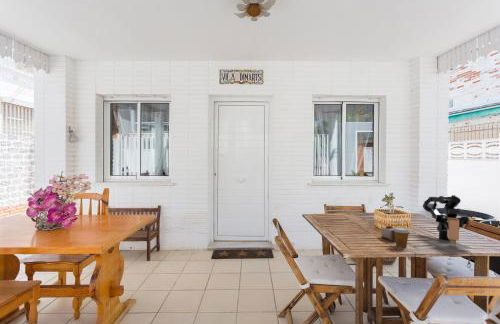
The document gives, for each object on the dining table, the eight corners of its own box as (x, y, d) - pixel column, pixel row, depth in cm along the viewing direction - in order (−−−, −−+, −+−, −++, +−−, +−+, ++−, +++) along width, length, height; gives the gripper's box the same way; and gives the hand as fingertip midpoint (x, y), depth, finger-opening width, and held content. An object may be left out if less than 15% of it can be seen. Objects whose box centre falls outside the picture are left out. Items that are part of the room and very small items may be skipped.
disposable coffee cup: (412, 247, 198) (412, 229, 198) (401, 248, 195) (401, 230, 195) (401, 243, 207) (401, 226, 207) (390, 244, 204) (390, 227, 204)
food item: (379, 236, 225) (379, 224, 225) (388, 236, 227) (388, 223, 227) (391, 241, 212) (391, 228, 212) (400, 241, 213) (400, 227, 213)
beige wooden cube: (449, 245, 202) (449, 238, 202) (455, 245, 201) (455, 239, 201) (450, 246, 200) (450, 240, 200) (456, 247, 198) (456, 240, 198)
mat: (440, 249, 192) (440, 249, 192) (423, 242, 209) (423, 241, 209) (472, 249, 194) (472, 248, 194) (452, 242, 211) (452, 241, 211)
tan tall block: (447, 236, 204) (447, 217, 203) (456, 237, 202) (457, 217, 201) (448, 239, 199) (449, 219, 198) (458, 240, 197) (459, 219, 196)
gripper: (436, 203, 208) (439, 221, 198) (468, 205, 200) (472, 224, 190) (434, 212, 215) (436, 230, 205) (465, 214, 207) (469, 233, 197)
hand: (453, 229), depth 199 cm, fingers closed on tan tall block, 6 cm apart
